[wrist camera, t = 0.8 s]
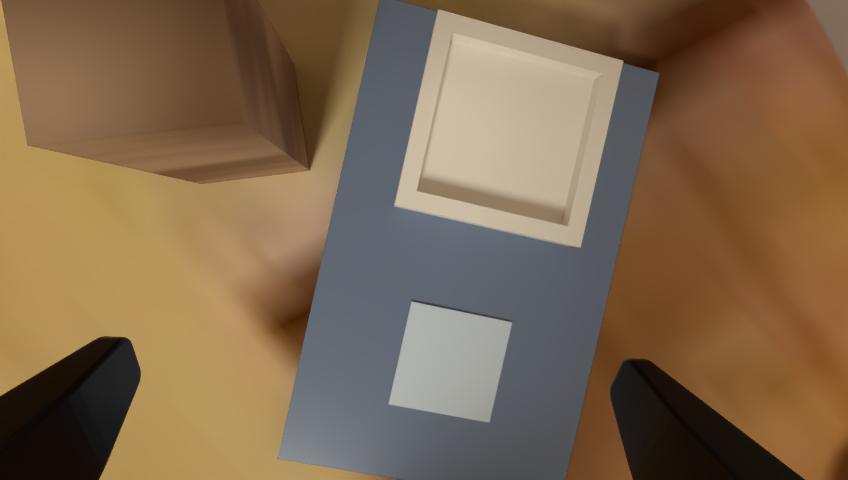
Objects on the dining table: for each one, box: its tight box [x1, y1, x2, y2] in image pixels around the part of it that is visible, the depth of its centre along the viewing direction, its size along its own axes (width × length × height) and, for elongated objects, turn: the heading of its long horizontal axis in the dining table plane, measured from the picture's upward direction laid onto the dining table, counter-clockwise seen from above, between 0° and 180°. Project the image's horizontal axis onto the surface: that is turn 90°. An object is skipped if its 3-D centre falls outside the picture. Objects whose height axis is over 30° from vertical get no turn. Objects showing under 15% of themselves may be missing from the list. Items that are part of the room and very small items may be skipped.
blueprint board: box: [278, 0, 659, 480], centre depth 20 cm, size 22×14×2 cm, turn 167°
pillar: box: [1, 0, 310, 184], centre depth 15 cm, size 5×5×10 cm
